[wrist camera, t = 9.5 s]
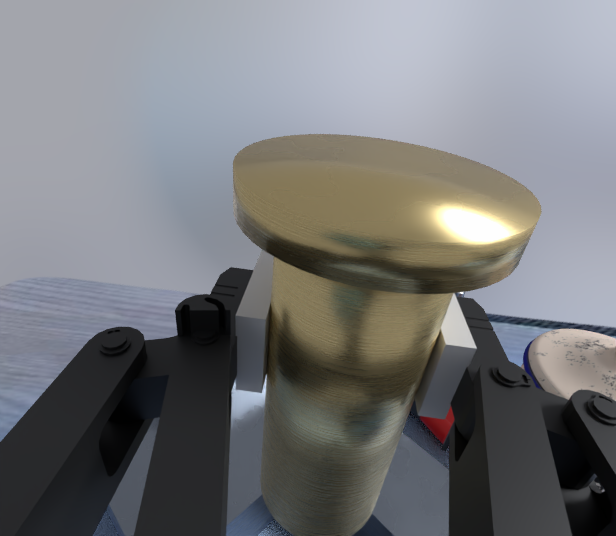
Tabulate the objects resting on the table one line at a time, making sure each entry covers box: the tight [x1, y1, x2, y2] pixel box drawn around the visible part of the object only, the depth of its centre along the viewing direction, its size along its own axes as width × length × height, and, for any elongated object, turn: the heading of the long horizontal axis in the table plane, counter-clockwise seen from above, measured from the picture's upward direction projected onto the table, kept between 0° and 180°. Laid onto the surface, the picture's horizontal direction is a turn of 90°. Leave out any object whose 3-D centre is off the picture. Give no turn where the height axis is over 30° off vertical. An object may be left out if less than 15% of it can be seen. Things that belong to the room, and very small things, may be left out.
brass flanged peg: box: [233, 134, 541, 536], centre depth 12 cm, size 6×6×12 cm
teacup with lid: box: [521, 329, 616, 492], centre depth 23 cm, size 12×9×12 cm
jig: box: [106, 374, 449, 536], centre depth 20 cm, size 18×14×6 cm
